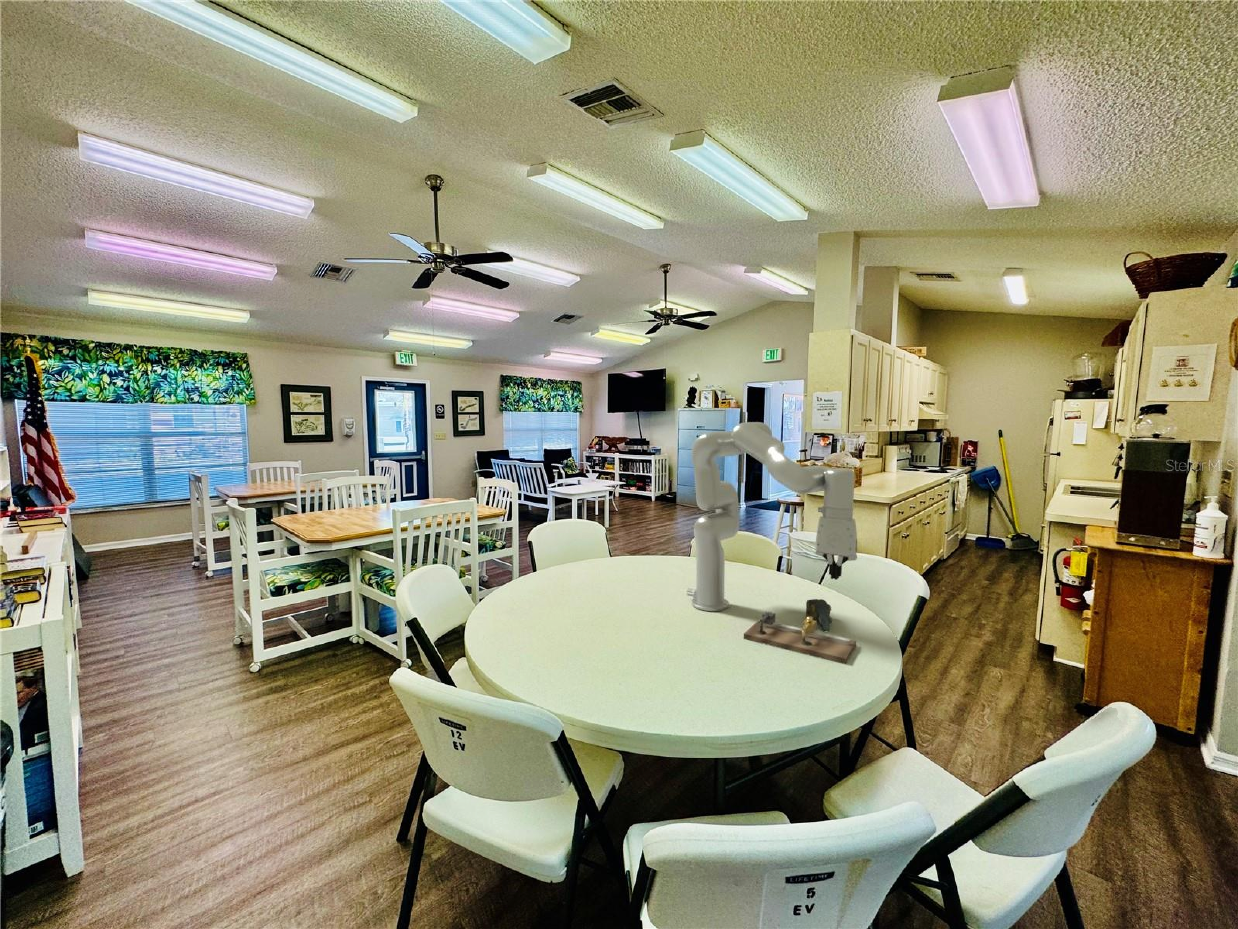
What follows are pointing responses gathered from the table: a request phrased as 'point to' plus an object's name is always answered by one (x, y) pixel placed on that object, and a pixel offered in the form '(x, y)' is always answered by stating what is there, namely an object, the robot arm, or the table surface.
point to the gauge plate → (800, 639)
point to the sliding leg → (808, 626)
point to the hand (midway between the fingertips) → (835, 577)
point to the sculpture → (819, 612)
